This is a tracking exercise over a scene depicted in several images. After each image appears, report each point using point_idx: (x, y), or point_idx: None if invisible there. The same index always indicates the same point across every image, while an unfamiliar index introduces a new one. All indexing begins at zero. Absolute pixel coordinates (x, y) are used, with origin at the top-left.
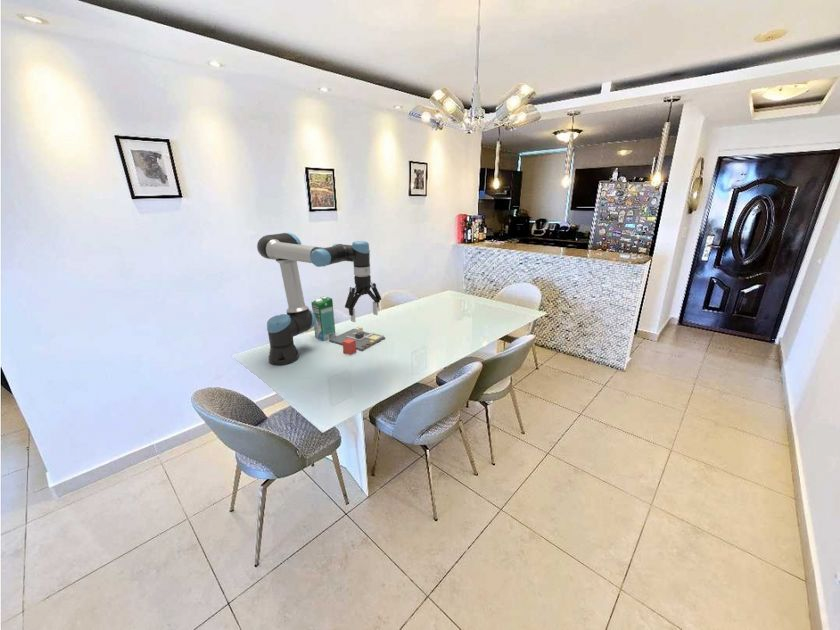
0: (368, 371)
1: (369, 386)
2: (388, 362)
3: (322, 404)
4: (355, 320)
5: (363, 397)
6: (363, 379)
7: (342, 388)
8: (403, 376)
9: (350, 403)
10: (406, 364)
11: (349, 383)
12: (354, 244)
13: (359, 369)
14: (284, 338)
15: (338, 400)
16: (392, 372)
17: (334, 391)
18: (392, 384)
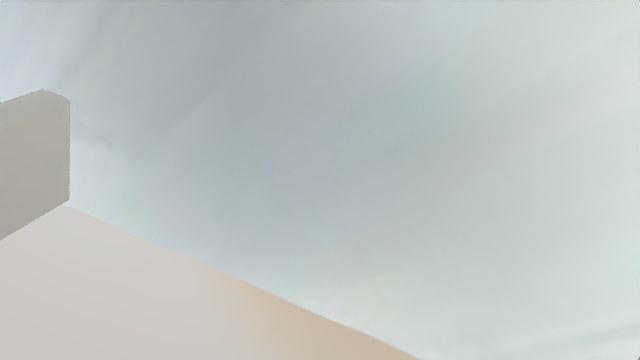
0: (396, 92)
1: (252, 192)
2: (600, 161)
3: (21, 66)
4: (46, 212)
5: (164, 213)
6: (293, 120)
7: (158, 64)
8: (439, 323)
9: (101, 182)
10: (615, 296)
11: (215, 67)
12: None
13: (392, 10)
14: None
15: (82, 116)
16: (457, 248)
17: (115, 42)
18: (331, 295)
